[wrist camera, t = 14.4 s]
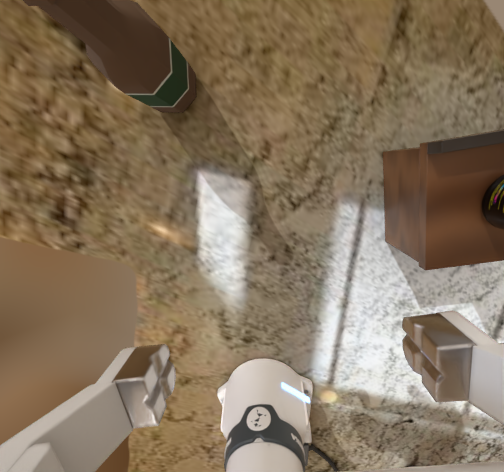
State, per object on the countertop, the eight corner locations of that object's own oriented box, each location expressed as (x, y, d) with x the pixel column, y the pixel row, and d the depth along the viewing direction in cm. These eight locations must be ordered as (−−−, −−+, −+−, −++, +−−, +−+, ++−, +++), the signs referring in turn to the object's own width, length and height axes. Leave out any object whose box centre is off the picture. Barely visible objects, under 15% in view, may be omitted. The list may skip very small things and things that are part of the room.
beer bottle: (207, 69, 36) (104, -101, 13) (188, 124, 38) (71, 63, 15) (155, 45, 35) (-50, -179, 12) (139, 102, 37) (-62, 2, 14)
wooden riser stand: (503, 227, 40) (613, 256, 27) (385, 244, 42) (438, 278, 29) (513, 126, 36) (647, 105, 24) (382, 148, 38) (442, 140, 25)
